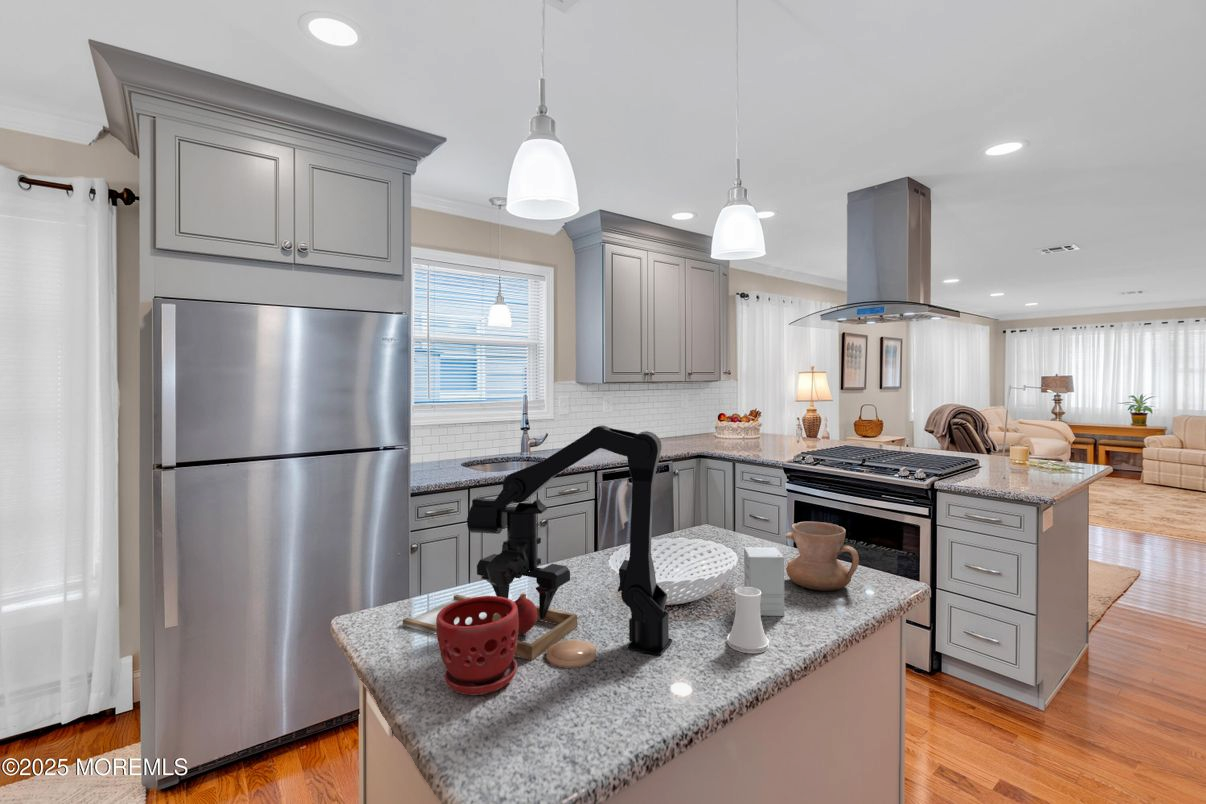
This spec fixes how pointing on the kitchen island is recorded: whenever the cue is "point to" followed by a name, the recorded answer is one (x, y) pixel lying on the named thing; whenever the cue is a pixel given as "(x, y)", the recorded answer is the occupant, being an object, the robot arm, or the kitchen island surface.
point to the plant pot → (478, 644)
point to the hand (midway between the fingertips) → (522, 614)
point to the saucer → (571, 653)
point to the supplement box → (766, 578)
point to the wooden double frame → (523, 649)
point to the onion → (526, 614)
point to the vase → (748, 623)
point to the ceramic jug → (820, 556)
